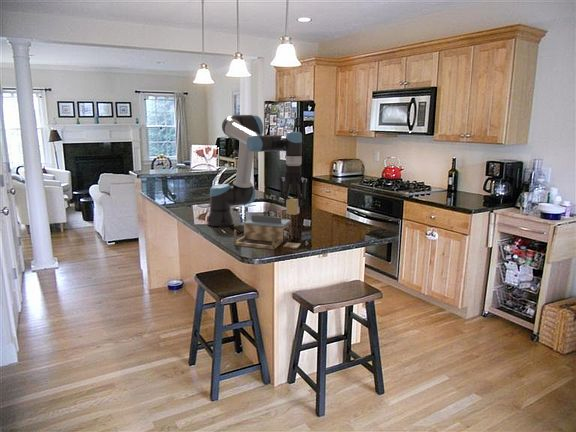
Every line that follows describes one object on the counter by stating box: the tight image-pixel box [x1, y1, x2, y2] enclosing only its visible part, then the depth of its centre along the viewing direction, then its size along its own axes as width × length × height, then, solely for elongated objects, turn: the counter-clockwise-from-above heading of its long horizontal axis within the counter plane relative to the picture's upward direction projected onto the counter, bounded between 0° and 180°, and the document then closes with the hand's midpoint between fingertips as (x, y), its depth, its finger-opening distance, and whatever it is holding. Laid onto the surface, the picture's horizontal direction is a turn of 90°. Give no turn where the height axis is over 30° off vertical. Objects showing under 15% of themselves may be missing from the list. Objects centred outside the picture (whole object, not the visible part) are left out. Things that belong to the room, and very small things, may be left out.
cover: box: [243, 214, 292, 227], centre depth 228 cm, size 21×14×4 cm, turn 73°
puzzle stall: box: [233, 221, 292, 250], centre depth 224 cm, size 21×28×8 cm
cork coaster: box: [282, 241, 302, 249], centre depth 215 cm, size 7×7×1 cm
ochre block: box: [286, 198, 298, 216], centre depth 210 cm, size 4×4×7 cm
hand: (292, 212), depth 211 cm, fingers closed on ochre block, 4 cm apart
